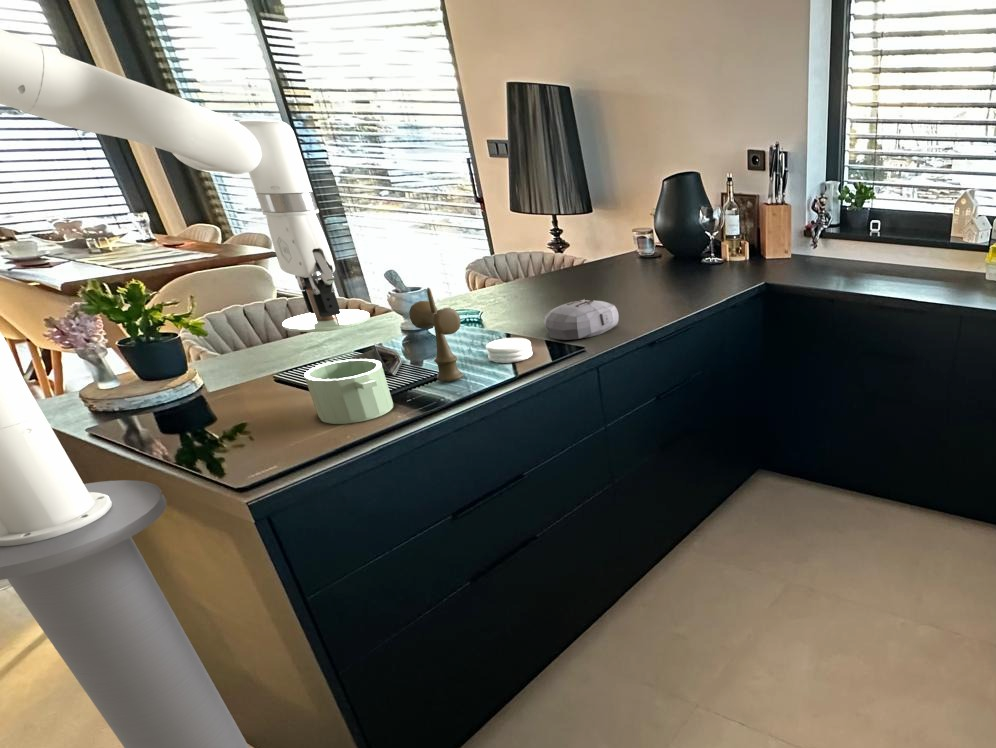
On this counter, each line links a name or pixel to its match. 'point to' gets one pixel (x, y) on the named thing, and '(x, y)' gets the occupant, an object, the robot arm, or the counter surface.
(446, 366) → the kendama
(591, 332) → the grey rounded bag
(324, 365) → the pot
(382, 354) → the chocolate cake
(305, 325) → the lid
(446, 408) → the counter surface
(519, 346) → the coaster
